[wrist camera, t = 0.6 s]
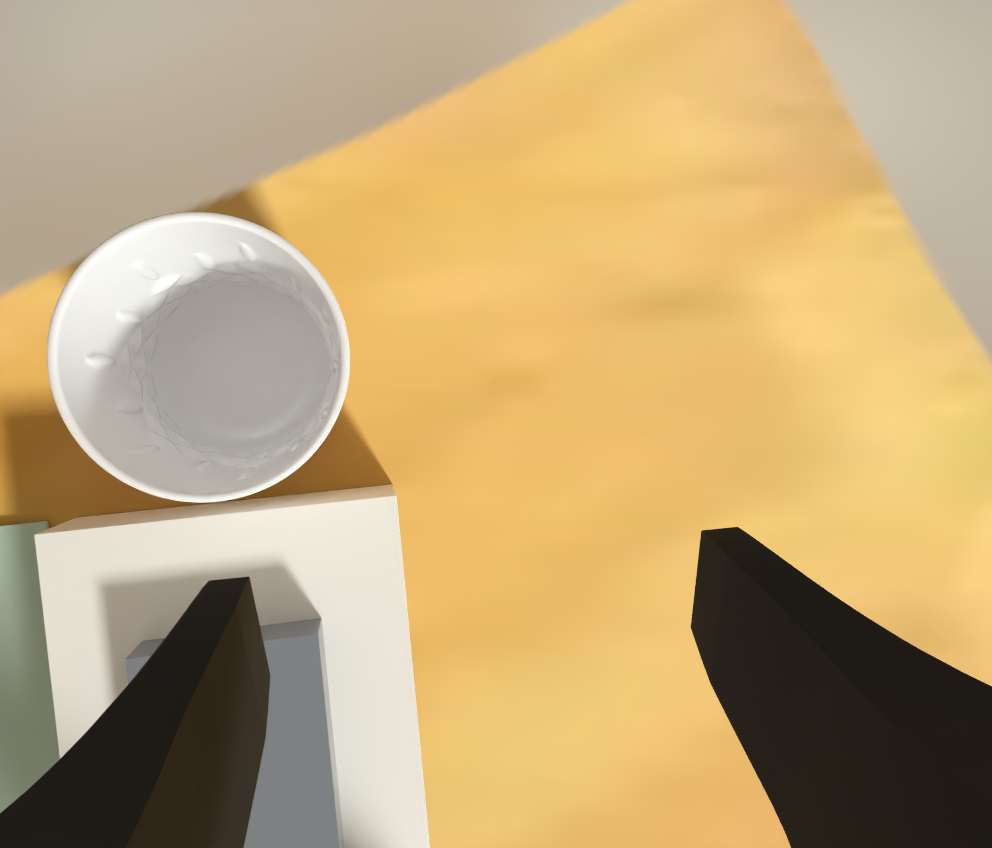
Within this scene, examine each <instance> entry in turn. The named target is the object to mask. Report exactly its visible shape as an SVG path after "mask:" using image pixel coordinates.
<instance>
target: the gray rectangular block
mask: <svg viewBox="0 0 992 848" xmlns="http://www.w3.org/2000/svg"><path fill="white" fill-rule="evenodd" d="M260 629H261V633H262V638H263V643H264V647H265V652H266V657H267V661H268V666H269V671H270V689H269V704H268V717H267V728H266V738H265V744H264V749H263V754H262V759H261V764H260V769H259V774H258V779H257V784H256V789H255V794H254V799H253V804H252V809H251V814H250V819H249V824H248V829H247V834H246V839H245V843H244V848H344V839H343V828H342V818H341V808H340V798H339V788H338V778H337V768H336V758H335V748H334V738H333V728H332V718H331V708H330V698H329V688H328V678H327V668H326V658H325V648H324V638H323V628H322V618H317V619H309V620H301V621H294V622H286V623H278V624H270V625H262V626H260ZM164 639H165V638H161V639H153V640H146V641H142V642H141V643H140V644H139V645H138V646H137V647H136V648H135V649H134V650H133V651H132V652H131V653H130V654H129V655H128V657H127V658H126V659H125V664H126V674H127V683H128V684H129V683H130V682H131V680H132V679H133V678H134V677H135V675H136V674H137V673H138V672H139V670H140V669H141V668H142V667H143V665H144V664H145V663H146V662H147V660H148V659H149V658H150V657H151V655H152V654H153V653H154V652H155V650H156V649H157V648H158V647H159V645H160V644H161V643H162V641H163V640H164Z"/></svg>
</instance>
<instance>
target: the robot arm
mask: <svg viewBox="0 0 992 848" xmlns="http://www.w3.org/2000/svg"><path fill="white" fill-rule="evenodd" d="M691 629H692V632H693V635H694V638H695V641H696V644H697V647H698V650H699V653H700V656H701V659H702V661H703V664H704V667H705V669H706V672H707V675H708V678H709V680H710V683H711V685H712V687H713V689H714V691H715V693H716V695H717V697H718V699H719V701H720V703H721V705H722V707H723V709H724V711H725V713H726V715H727V717H728V719H729V721H730V723H731V725H732V727H733V729H734V731H735V733H736V735H737V737H738V739H739V741H740V743H741V744H742V746H743V748H744V750H745V752H746V754H747V756H748V758H749V760H750V762H751V764H752V766H753V768H754V770H755V772H756V774H757V776H758V778H759V779H760V781H761V783H762V785H763V787H764V789H765V791H766V793H767V795H768V797H769V799H770V801H771V803H772V805H773V807H774V809H775V811H776V813H777V816H778V818H779V820H780V822H781V824H782V826H783V829H784V831H785V833H786V836H787V838H788V841H789V843H790V846H791V848H992V686H990V685H987V684H985V683H983V682H981V681H979V680H977V679H975V678H973V677H971V676H969V675H967V674H965V673H963V672H961V671H959V670H957V669H955V668H954V667H952V666H950V665H948V664H946V663H944V662H942V661H940V660H939V659H937V658H935V657H933V656H931V655H929V654H927V653H925V652H924V651H922V650H920V649H918V648H916V647H915V646H913V645H911V644H910V643H908V642H906V641H904V640H903V639H901V638H899V637H898V636H896V635H894V634H893V633H891V632H890V631H888V630H886V629H885V628H883V627H881V626H880V625H878V624H877V623H875V622H873V621H872V620H870V619H869V618H867V617H865V616H864V615H862V614H861V613H859V612H858V611H856V610H855V609H853V608H852V607H850V606H849V605H847V604H846V603H844V602H843V601H841V600H840V599H838V598H837V597H835V596H834V595H832V594H831V593H830V592H828V591H827V590H825V589H824V588H822V587H821V586H819V585H818V584H817V583H815V582H814V581H812V580H811V579H810V578H808V577H807V576H805V575H804V574H803V573H801V572H800V571H798V570H797V569H796V568H794V567H793V566H792V565H790V564H789V563H787V562H786V561H785V560H783V559H782V558H781V557H779V556H778V555H777V554H775V553H774V552H772V551H771V550H770V549H768V548H767V547H766V546H764V545H763V544H761V543H760V542H759V541H757V540H756V539H755V538H753V537H752V536H750V535H749V534H747V533H746V532H744V531H743V530H741V529H740V528H738V527H733V528H723V529H713V530H703V531H701V540H700V549H699V558H698V567H697V576H696V586H695V595H694V604H693V613H692V622H691ZM269 689H270V671H269V666H268V661H267V657H266V652H265V647H264V643H263V638H262V633H261V629H260V624H259V619H258V614H257V610H256V605H255V600H254V596H253V591H252V586H251V582H250V577H239V578H229V579H219V580H210V581H208V582H207V583H206V584H205V585H204V587H203V588H202V589H201V590H200V592H199V593H198V594H197V596H196V597H195V598H194V600H193V601H192V603H191V604H190V605H189V607H188V608H187V609H186V611H185V612H184V613H183V615H182V616H181V618H180V619H179V620H178V622H177V623H176V624H175V626H174V627H173V628H172V630H171V631H170V632H169V634H168V635H167V636H166V637H165V639H164V640H163V641H162V643H161V644H160V645H159V647H158V648H157V649H156V650H155V652H154V653H153V654H152V655H151V657H150V658H149V659H148V660H147V662H146V663H145V664H144V665H143V667H142V668H141V669H140V670H139V672H138V673H137V674H136V675H135V677H134V678H133V679H132V680H131V682H130V683H129V684H128V685H127V686H126V688H125V689H124V690H123V691H122V692H121V693H120V694H119V696H118V697H117V698H116V699H115V700H114V701H113V702H112V703H111V705H110V706H109V707H108V708H107V709H106V710H105V711H104V713H103V714H102V715H101V716H100V717H99V718H98V719H97V720H96V722H95V723H94V724H93V725H92V726H91V727H90V728H89V729H88V730H87V732H86V733H85V734H84V735H83V736H82V737H81V738H80V739H79V740H78V741H77V742H76V743H75V744H74V745H73V746H72V747H71V748H70V749H69V750H68V751H67V752H66V753H65V754H64V755H63V756H62V757H61V758H60V759H59V760H58V761H57V762H56V763H55V764H54V765H53V766H52V767H51V768H50V769H49V770H48V771H47V772H46V773H45V774H44V775H43V776H42V777H41V778H40V779H39V780H38V781H37V782H36V783H34V784H33V785H32V786H31V787H30V788H29V789H28V790H27V791H26V792H25V793H23V794H22V795H21V796H20V797H19V798H18V799H16V800H15V801H14V802H13V803H12V804H10V805H9V806H8V807H7V808H6V809H5V810H3V811H2V812H1V813H0V848H244V843H245V839H246V834H247V829H248V824H249V819H250V814H251V809H252V804H253V799H254V794H255V789H256V784H257V779H258V774H259V769H260V764H261V759H262V754H263V749H264V744H265V738H266V728H267V717H268V704H269Z"/></svg>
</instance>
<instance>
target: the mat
mask: <svg viewBox="0 0 992 848" xmlns="http://www.w3.org/2000/svg"><path fill="white" fill-rule="evenodd" d="M47 529H49V522H48V521H39V522H30V523H20V524H11V525H1V526H0V813H1V812H2V811H3V810H5V809H6V808H7V807H8V806H9V805H10V804H12V803H13V802H14V801H15V800H16V799H18V798H19V797H20V796H21V795H22V794H23V793H25V792H26V791H27V790H28V789H29V788H30V787H31V786H32V785H33V784H34V783H36V782H37V781H38V780H39V779H40V778H41V777H42V776H43V775H44V774H45V773H46V772H47V771H48V770H49V769H50V768H51V767H52V766H53V765H54V764H55V763H56V762H57V761H58V760H59V759H60V755H59V746H58V737H57V729H56V720H55V711H54V702H53V694H52V685H51V676H50V667H49V659H48V650H47V641H46V633H45V624H44V615H43V606H42V598H41V589H40V580H39V571H38V563H37V554H36V545H35V537H34V535H35V534H37V533H40V532H42V531H45V530H47Z"/></svg>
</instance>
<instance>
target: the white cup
mask: <svg viewBox="0 0 992 848" xmlns="http://www.w3.org/2000/svg"><path fill="white" fill-rule="evenodd" d="M47 368H48V376H49V381H50V386H51V390H52V394H53V397H54V400H55V403H56V406H57V408H58V410H59V413H60V415H61V417H62V419H63V421H64V423H65V425H66V426H67V428H68V430H69V431H70V433H71V434H72V436H73V437H74V439H75V440H76V441H77V443H78V444H79V445H80V446H81V448H82V449H83V450H84V451H85V452H86V453H87V454H88V455H89V456H90V457H91V458H92V459H93V460H94V461H95V462H96V463H97V464H98V465H100V466H101V467H102V468H103V469H104V470H106V471H107V472H108V473H110V474H111V475H113V476H114V477H116V478H117V479H119V480H121V481H122V482H124V483H126V484H128V485H130V486H132V487H134V488H136V489H138V490H141V491H143V492H146V493H148V494H151V495H155V496H158V497H162V498H166V499H170V500H176V501H183V502H198V503H204V502H219V501H226V500H232V499H236V498H241V497H244V496H248V495H251V494H254V493H256V492H259V491H261V490H264V489H266V488H268V487H270V486H272V485H274V484H276V483H278V482H279V481H281V480H283V479H284V478H286V477H287V476H289V475H290V474H291V473H293V472H294V471H295V470H297V469H298V468H299V467H300V466H301V465H303V464H304V463H305V462H306V461H307V460H308V459H309V458H310V457H311V456H312V455H313V454H314V453H315V451H316V450H317V449H318V448H319V447H320V445H321V444H322V443H323V441H324V440H325V439H326V437H327V436H328V434H329V432H330V431H331V429H332V427H333V425H334V423H335V421H336V419H337V417H338V415H339V413H340V410H341V408H342V405H343V402H344V398H345V395H346V391H347V386H348V380H349V371H350V348H349V340H348V334H347V329H346V325H345V321H344V318H343V315H342V312H341V309H340V307H339V304H338V302H337V300H336V298H335V296H334V294H333V292H332V290H331V288H330V287H329V285H328V283H327V282H326V280H325V279H324V277H323V276H322V274H321V273H320V272H319V271H318V269H317V268H316V267H315V266H314V265H313V263H312V262H311V261H310V260H309V259H308V258H307V257H306V256H305V255H304V254H303V253H302V252H300V251H299V250H298V249H297V248H296V247H295V246H293V245H292V244H291V243H289V242H288V241H287V240H285V239H284V238H282V237H281V236H279V235H277V234H276V233H274V232H272V231H270V230H269V229H267V228H265V227H262V226H260V225H258V224H255V223H253V222H250V221H247V220H245V219H241V218H238V217H234V216H230V215H225V214H219V213H211V212H181V213H172V214H167V215H162V216H157V217H154V218H151V219H147V220H144V221H141V222H139V223H136V224H134V225H132V226H130V227H128V228H125V229H124V230H122V231H120V232H118V233H116V234H115V235H113V236H112V237H110V238H109V239H107V240H106V241H104V242H103V243H102V244H101V245H99V246H98V247H97V248H96V249H95V250H93V251H92V252H91V253H90V254H89V255H88V256H87V257H86V258H85V259H84V260H83V261H82V263H81V264H80V265H79V266H78V267H77V269H76V270H75V271H74V273H73V274H72V275H71V277H70V278H69V280H68V282H67V283H66V285H65V287H64V289H63V290H62V292H61V294H60V297H59V299H58V301H57V304H56V306H55V309H54V312H53V315H52V319H51V323H50V328H49V333H48V342H47Z"/></svg>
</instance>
